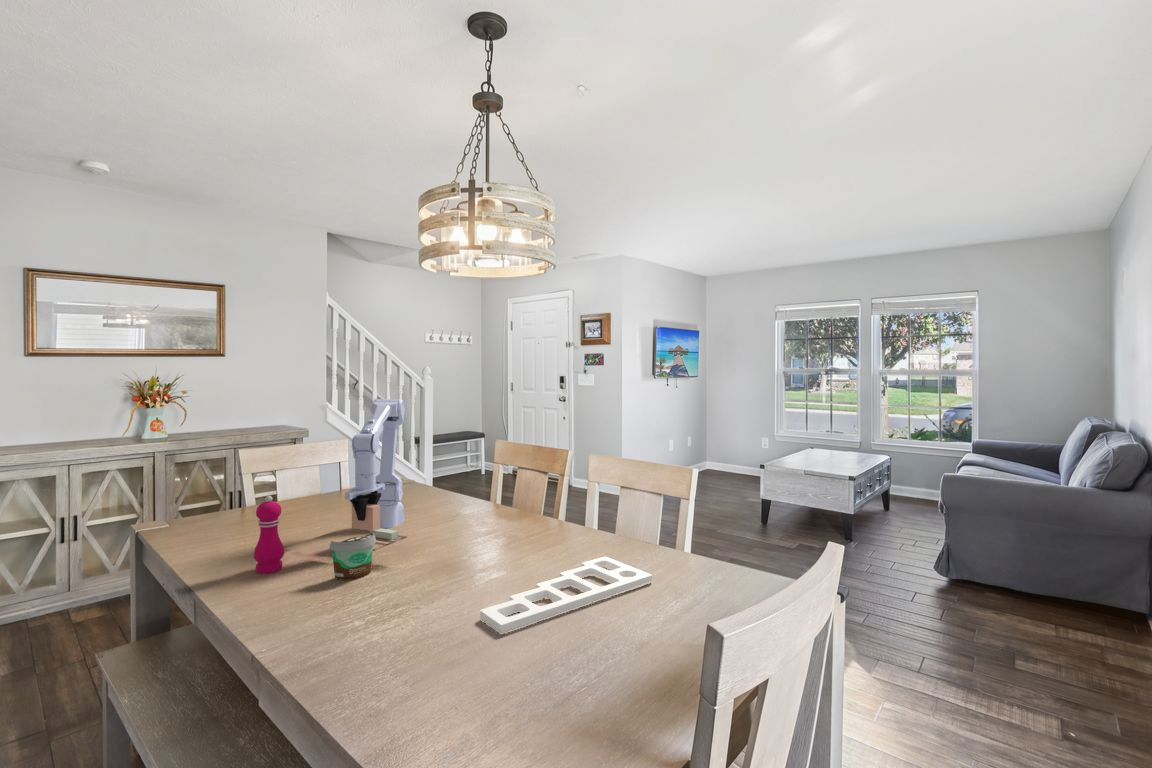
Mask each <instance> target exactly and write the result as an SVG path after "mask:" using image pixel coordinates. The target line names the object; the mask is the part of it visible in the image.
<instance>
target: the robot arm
mask: <svg viewBox="0 0 1152 768" xmlns="http://www.w3.org/2000/svg"><path fill="white" fill-rule="evenodd" d="M370 406H371V407H370V408H371V409H370V411H371V414H372V417H371V419H368V420H366V421H365V423H364V425H363V427H362V428H361V430H360V431H359V433H356V434H355V435H353V437H352V440H351V449H352V454H353V459H354V468H355V469H354V476H355V477H354V481H355V483H354V484H355V487H352V488H353V489H351V490H349V491H346V492H344V500H347V501H349V502H350V503H351V506H352V505H353V507H354V509H355V512H356V515H357V519H358V520H360V521H364V520H365V515H366V506H367V504H373V505H380V528H383V529H390V528H395V527H396V526H399V525H401V524H403V523H405V508H404V505H403V503H402V502H401V501H402V498H403V490H404V489H403V480H402V478H401V477H399V476H398V475H396V474H395V471H396V470H395V469H396V458H397V457H396V455H397V446H398V445H397V441H398V431H399V426H401V425H403V424H404V420H405V412H406V411H405V410H406V409H405V406H406V405H405V401H404V400H403V399H402V398H398V399H395V398H394V399H393V398H392V399H388V398H385V399H384V398H382V399H381V398H374V399H373V400H372V403H371V405H370ZM381 435H382V440H381V454H380V464H379V466H380V467H379V474H378V475H377V474H376V473H377V472H376V470H377V469H376V468H377V467H376V453H377V452H378V449H379V445H380V444H379V443H380V437H381Z"/></svg>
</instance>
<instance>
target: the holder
mask: <svg viewBox="0 0 1152 768" xmlns="http://www.w3.org/2000/svg"><path fill="white" fill-rule="evenodd" d="M602 565H607V566H609V567H611V568H614V570H609V569H606V568H602V567H599V566H602ZM587 574H595V575H597V576H599V577H602V578H604V579H606V580H608V581H610V582H612V584H606V585H601V586H600V585H597V584H595V583H593V582H591V581H588V580H587V579H585V578H583V579H582V578H580V576H584V575H587ZM623 576H633V577H623ZM651 580H652V581H653V574H651V573H649V572H646V571H644V570H641V569H639V568H636V567H633V566H631V565H629V564H625V563H624V562H621V561H619V560H616V559H614V558H610V557H608V556H602V557H598V558H594V559H591V560H588V561H583V562H581V565H580V566H579V567H576V568H571V569H568V570H565V571H561V572H559V577H558V576H557V577H555V578H552V579H549V580H544V581H541V582H538V583H536V588H533V589H529V590H526V591H522V592H519V593H515V594H512V595H509V601H505V602H501V603H498V604H495V605H490V606H488V607H485V608H483V609H482V608H481V609H480V610H479V612H480V613H479V614H480V615H479V620H480V619H481V620H482V621H484V622H485V623H487V624H488V625H489V626H491V627H492V628H494V629H495V630H497V631H498V632H500V633H505V632H508V631H510V630H514V629H516V628H519V627H522V626H525V625H528V624H530V623H533V622H536V621H539V620H541V619H544V618H547V617H550V616H553V615H555V614H558V613H561V612H564V611H567V610H570V609H573V608H576V607H579V606H582V605H585V604H588V603H590V602H593V601H596V600H599V599H602V598H605V597H607V596H610V595H613V594H616V593H619V592H621V591H624V590H627V589H630V588H633V587H635V586H638V585H641V584H643V583H646V582H649V581H651ZM566 585H573V586H575V587H577V588H579V589H581V590H582V591H584V593H582V592H580V593H578V594H576V595H569V594H568V593H565V592H564V591H562V590H558V589H557V588H560V587H563V586H566ZM545 597H547V598H550V599H552V600H553V601H556V602H551V603H547V604H544V605H538V604H536V603H532V601H535V600H538V599H541V598H545ZM517 611H522V613H516V614H513V615H510V616H507V617H505V615H508V614H511V613H514V612H517ZM489 626H488V627H489Z"/></svg>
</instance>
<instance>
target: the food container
mask: <svg viewBox="0 0 1152 768" xmlns="http://www.w3.org/2000/svg"><path fill="white" fill-rule="evenodd" d="M376 539H377V537H375V535H374V531H369V534H366V535H363V536H355V537H350V538H348V539H345V540H343V541H340V542H339V541H334V540H331V541H330V544H329V550H331V554H332V562H333V563H332V564H333V572H334V579H336V578H337V579H336V580H340V579H342V580H341V581H351V580H350V579H352V580H357V579H362V578H364V576H365V577H367V576H369V575H370V574H371V572H372V564H373V563H372V561H373V552H374V551H373V549H374V544H375V543H376V542H377V540H376ZM375 545H376V544H375ZM369 573H370V574H369ZM361 577H362V578H361Z"/></svg>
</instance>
